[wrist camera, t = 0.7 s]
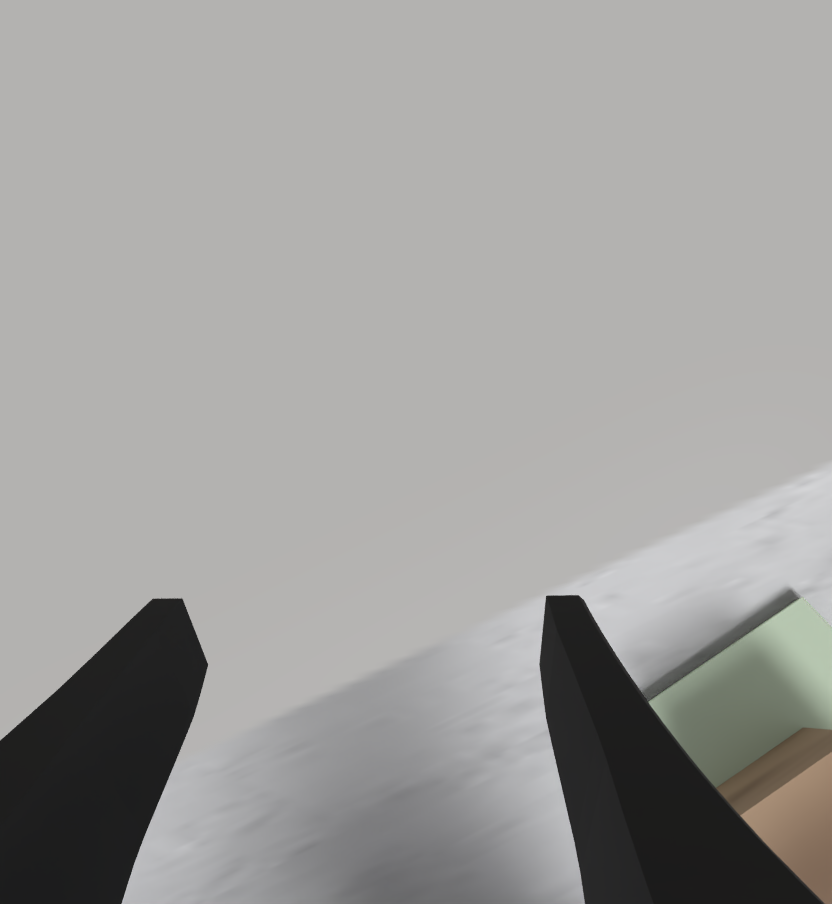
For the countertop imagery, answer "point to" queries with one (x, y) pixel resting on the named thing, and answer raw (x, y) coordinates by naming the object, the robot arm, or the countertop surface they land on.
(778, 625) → the board
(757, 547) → the countertop surface
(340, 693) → the countertop surface
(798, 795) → the walnut block
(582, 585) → the countertop surface
